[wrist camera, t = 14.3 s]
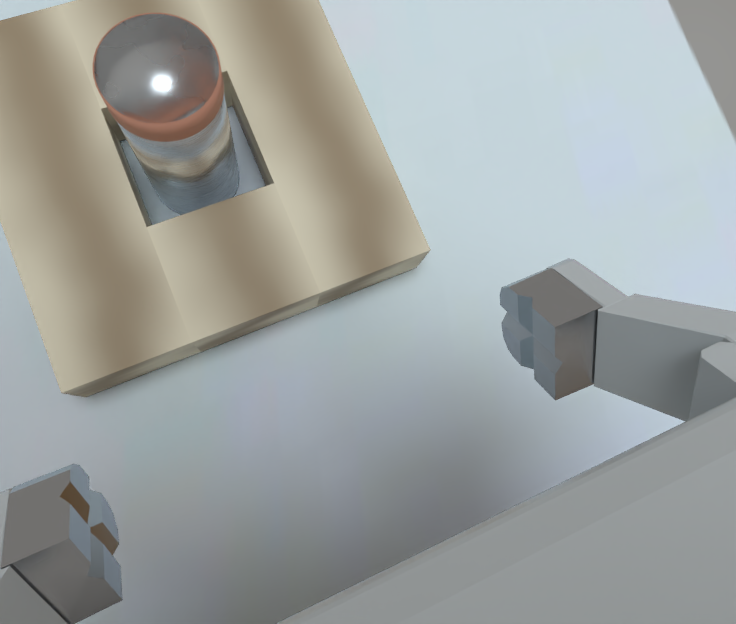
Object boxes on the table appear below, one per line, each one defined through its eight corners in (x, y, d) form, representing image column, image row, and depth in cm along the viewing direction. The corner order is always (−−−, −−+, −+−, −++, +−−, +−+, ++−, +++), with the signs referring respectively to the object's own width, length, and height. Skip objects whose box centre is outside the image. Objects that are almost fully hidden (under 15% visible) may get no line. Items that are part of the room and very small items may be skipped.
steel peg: (169, 229, 28) (117, 141, 20) (139, 152, 29) (74, 31, 20) (252, 200, 29) (238, 102, 20) (221, 125, 30) (195, -2, 21)
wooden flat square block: (86, 397, 27) (61, 393, 24) (-29, 78, 29) (-65, 37, 26) (416, 267, 30) (430, 250, 27) (292, -13, 32) (292, -58, 29)
